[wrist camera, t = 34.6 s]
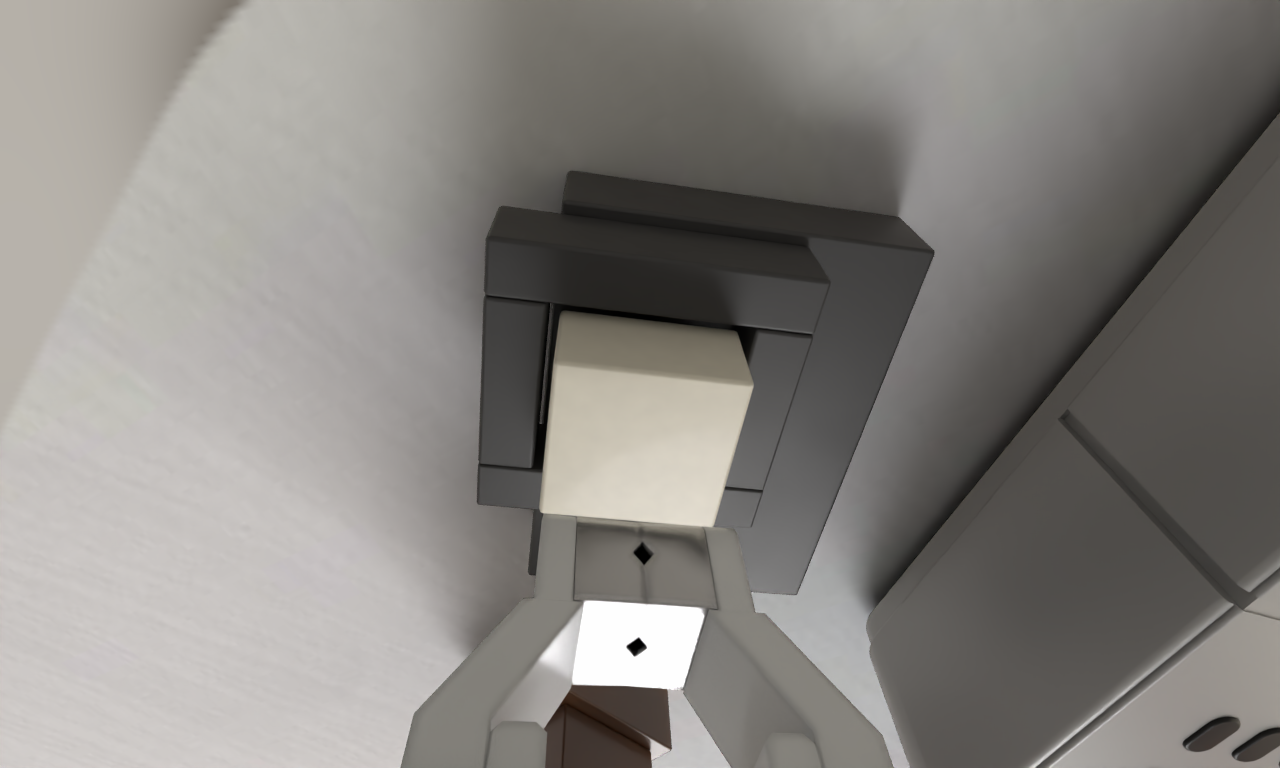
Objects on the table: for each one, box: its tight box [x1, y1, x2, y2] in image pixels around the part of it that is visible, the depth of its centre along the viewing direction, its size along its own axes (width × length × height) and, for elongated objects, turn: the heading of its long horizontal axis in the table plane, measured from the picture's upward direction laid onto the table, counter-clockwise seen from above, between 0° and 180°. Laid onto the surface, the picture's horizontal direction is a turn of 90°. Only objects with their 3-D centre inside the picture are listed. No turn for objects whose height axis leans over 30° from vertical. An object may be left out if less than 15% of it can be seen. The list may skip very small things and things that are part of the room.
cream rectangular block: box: [539, 310, 754, 527], centre depth 14 cm, size 4×4×2 cm
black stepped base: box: [477, 171, 934, 595], centre depth 17 cm, size 9×11×4 cm
